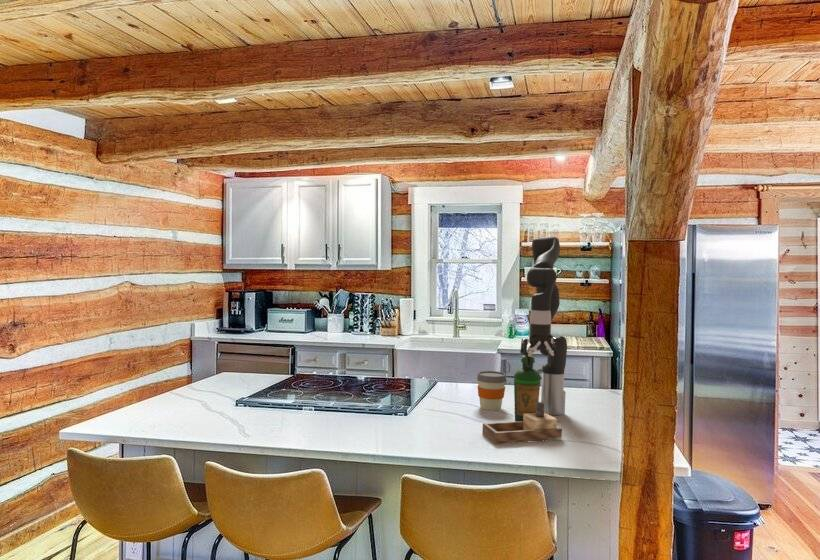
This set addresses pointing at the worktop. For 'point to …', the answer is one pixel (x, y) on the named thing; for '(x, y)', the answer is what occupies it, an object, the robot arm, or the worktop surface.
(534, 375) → the bottle
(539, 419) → the light wooden block
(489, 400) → the reusable coffee cup
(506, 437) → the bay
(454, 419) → the worktop surface
